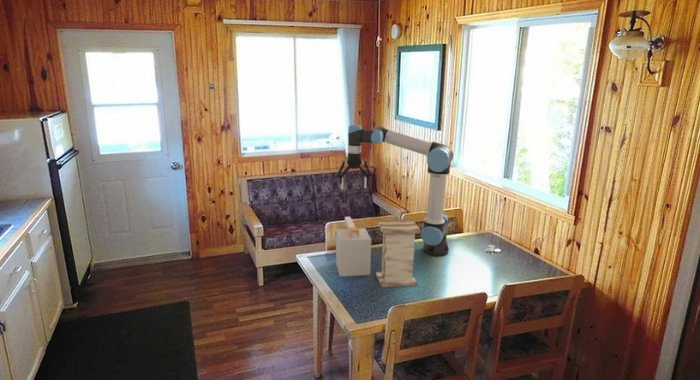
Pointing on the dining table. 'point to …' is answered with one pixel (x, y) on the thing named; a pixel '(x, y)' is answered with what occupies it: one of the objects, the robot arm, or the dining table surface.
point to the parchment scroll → (397, 253)
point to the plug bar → (351, 227)
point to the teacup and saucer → (491, 248)
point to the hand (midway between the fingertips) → (353, 188)
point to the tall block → (353, 253)
